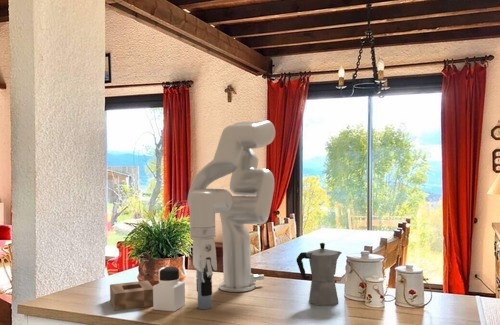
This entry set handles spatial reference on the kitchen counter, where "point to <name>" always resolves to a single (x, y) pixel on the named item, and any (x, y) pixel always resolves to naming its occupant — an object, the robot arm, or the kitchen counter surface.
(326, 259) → the coffeepot
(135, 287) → the socket
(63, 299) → the kitchen counter surface
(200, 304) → the peg
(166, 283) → the medicine bottle
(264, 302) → the kitchen counter surface
